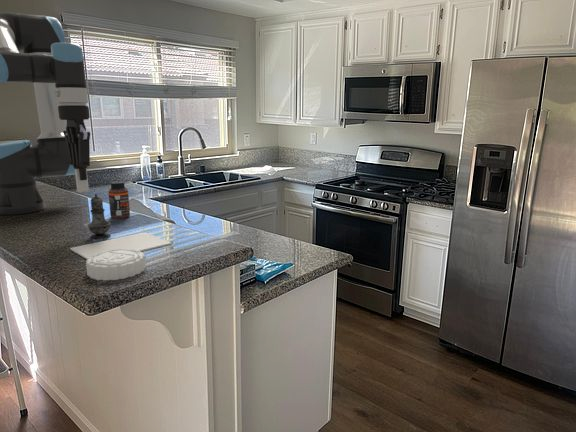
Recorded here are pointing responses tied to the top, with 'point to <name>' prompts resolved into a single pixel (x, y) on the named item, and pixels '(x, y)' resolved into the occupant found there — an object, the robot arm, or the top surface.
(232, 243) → the top surface
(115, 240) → the board
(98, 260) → the mooncake
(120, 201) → the supplement bottle
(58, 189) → the top surface
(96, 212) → the salt shaker
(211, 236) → the top surface
